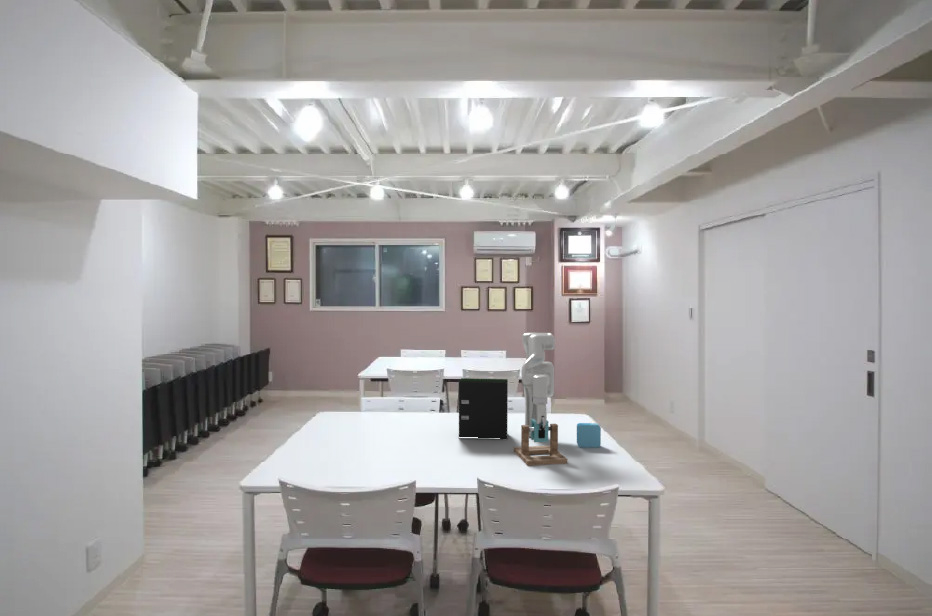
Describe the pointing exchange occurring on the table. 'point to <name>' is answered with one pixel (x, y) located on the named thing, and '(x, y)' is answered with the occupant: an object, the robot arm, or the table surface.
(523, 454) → the hook stand
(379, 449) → the table surface
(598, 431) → the data package
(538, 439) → the teal rectangular block
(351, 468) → the table surface
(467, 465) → the table surface
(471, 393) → the binder
